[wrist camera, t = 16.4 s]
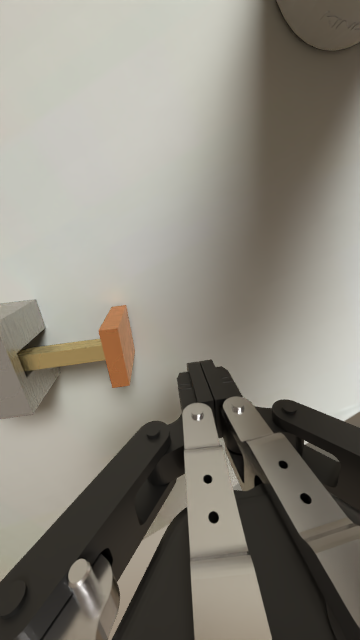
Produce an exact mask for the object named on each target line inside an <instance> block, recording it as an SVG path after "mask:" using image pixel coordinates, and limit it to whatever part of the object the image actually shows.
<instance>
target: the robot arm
mask: <svg viewBox="0 0 360 640" xmlns="http://www.w3.org/2000/svg"><path fill="white" fill-rule="evenodd" d="M276 1H277V3H278V5H279V7H280V10H281V12H282V14H283V16H284V19H285V20H286V22H287V23H288V24H289V26H290V27H291V29H292V30H293V31H294V33H295V34H296V35H297V36H299V37H300V38H301V39H302V40H303V41H305V42H306V43H307V44H309V45H311V46H314V47H316V48H318V49H322V50H332V51H335V50H340V49H345V48H349V47H351V46H353V45H355V44H357V43H359V42H360V0H276ZM187 371H188V372H183V373H179V376H178V378H177V382H178V390H179V397H180V404H181V410H182V414H181V416H180V417H179V419H178V420H176V421H175V422H173V423H171V424H169V425H166V424H165V423H164V422H161V421H152V422H149V423H147V424H145V425H144V426H142V427H141V428H140V429H139V431H138V432H137V433H136V434H135V435H134V436H133V437H132V438H131V439H130V440H129V442H128V443H127V444H126V445H125V446H124V447H123V448H122V449H121V450H120V451H119V453H118V454H117V455H116V456H115V457H114V458H113V459H112V460H111V461H110V462H109V463H108V465H107V466H106V467H105V468H104V469H103V470H102V471H101V472H100V473H99V474H98V476H97V477H96V478H95V479H94V480H93V481H92V482H91V483H90V484H89V485H88V487H87V488H86V489H85V490H84V491H83V492H82V493H81V494H80V495H79V496H78V497H77V499H76V500H75V501H74V502H73V503H72V504H71V505H70V506H69V507H68V508H67V510H66V511H65V512H64V513H63V514H62V515H61V516H60V517H59V518H58V519H57V521H56V522H55V523H54V524H53V525H52V526H51V527H50V528H49V529H48V530H47V531H46V533H45V534H44V535H43V536H42V537H41V538H40V539H39V540H38V541H37V542H36V544H35V545H34V546H33V547H32V548H31V549H30V550H29V551H28V552H27V553H26V555H25V556H24V557H23V558H22V559H21V560H20V561H19V562H18V563H17V564H16V565H15V567H14V568H13V569H12V570H11V571H10V572H9V573H8V574H7V575H6V576H5V578H4V579H3V580H2V581H1V582H0V640H108V637H109V634H110V631H111V629H112V626H113V624H114V622H115V619H116V616H117V613H118V609H119V603H120V592H119V587H118V584H117V581H118V580H119V578H120V576H121V575H122V573H123V571H124V570H125V568H126V566H127V565H128V563H129V561H130V559H131V558H132V556H133V554H134V553H135V551H136V549H137V548H138V546H139V544H140V543H141V541H142V539H143V538H144V536H145V534H146V532H147V531H148V529H149V527H150V526H151V524H152V522H153V521H154V519H155V517H156V516H157V514H158V512H159V510H160V509H161V507H162V505H163V504H164V502H165V500H166V499H167V497H168V495H169V494H170V492H171V490H172V489H173V487H174V485H175V483H176V479H177V478H178V477H180V476H181V475H183V474H185V477H186V493H187V507H186V508H185V509H184V510H182V511H181V512H180V513H179V514H178V515H177V516H176V517H175V518H174V519H173V521H172V522H171V523H170V525H169V526H168V528H167V530H166V531H165V534H164V536H163V537H162V539H161V541H160V544H159V546H158V547H157V550H156V551H155V553H154V555H153V557H152V560H151V562H150V564H149V566H148V568H147V570H146V572H145V574H144V576H143V578H142V580H141V582H140V584H139V586H138V588H137V590H136V592H135V594H134V596H133V598H132V600H131V602H130V604H129V606H128V608H127V610H126V612H125V614H124V616H123V618H122V620H121V622H120V624H119V626H118V628H117V630H116V632H115V634H114V636H113V638H112V640H360V428H358V427H356V426H353V425H351V424H349V423H346V422H344V421H341V420H339V419H336V418H334V417H331V416H329V415H326V414H324V413H322V412H319V411H317V410H314V409H312V408H309V407H307V406H304V405H302V404H299V403H297V402H294V401H291V400H279V401H276V402H275V403H274V404H273V406H272V408H261V407H256V406H254V405H253V404H252V403H251V402H250V401H249V400H248V399H246V398H243V396H242V395H241V393H240V391H239V389H238V388H237V386H236V384H235V382H234V381H233V379H232V377H231V375H230V374H229V372H228V370H226V369H225V368H223V367H222V366H221V367H215V365H214V363H213V361H212V360H205V361H200V362H193V363H187ZM222 437H223V438H224V441H225V451H226V454H227V456H228V458H229V461H230V463H231V465H232V468H233V470H234V472H235V475H236V477H237V479H238V482H239V484H240V486H241V489H242V491H237V490H233V487H232V483H231V479H230V475H229V471H228V467H227V463H226V459H225V455H224V451H223V447H222V445H220V443H219V439H218V438H222ZM304 440H305V441H307V442H309V443H311V444H313V445H315V446H317V447H319V448H321V449H323V450H325V451H327V452H329V453H331V454H333V455H334V456H335V457H336V458H337V459H338V460H339V461H340V462H337V461H335V460H333V459H331V458H329V457H327V456H325V455H323V454H321V453H319V452H317V451H315V450H314V449H312V448H310V447H308V446H306V445H304Z"/></svg>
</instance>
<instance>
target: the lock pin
mask: <svg viewBox="0 0 360 640" xmlns="http://www.w3.org/2000/svg"><path fill="white" fill-rule="evenodd" d="M99 335H100V339H95V340H87V341H79V342H72V343H64V344H56V345H49V346H41V347H34V348H26V349H21V350H20V351H19V352H18V353H17V355H18V357H19V360H20V362H21V365H22V367H23V370H24V371H30V370H37V369H45V368H52V367H59V366H67V365H74V364H81V363H88V362H96V361H103V360H106V364H107V368H108V372H109V376H110V380H111V384H112V388H116V387H123V386H129V385H130V380H131V374H132V367H133V361H134V354H135V349H134V344H133V338H132V333H131V328H130V323H129V317H128V312H127V307H126V305H123V306H115V307H111V309H110V311H109V313H108V315H107V316H106V318H105V320H104V322H103V324H102V325H101V327H100V329H99Z"/></svg>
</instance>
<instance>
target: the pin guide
mask: <svg viewBox="0 0 360 640" xmlns="http://www.w3.org/2000/svg"><path fill="white" fill-rule="evenodd" d="M43 329H45V325H44V322H43V319H42V316H41V313H40V310H39V307H38V304H37V301H36V300H27V301H18V302H10V303H1V304H0V419H5V418H11V417H18V416H25V415H31V414H34V412H35V410H36V409H37V407H38V406H39V404H40V403H41V401H42V400H43V398H44V397H45V395H46V394H47V392H48V391H49V389H50V388H51V386H52V385H53V383H54V382H55V380H56V379H57V377H58V376H59V374H60V370H59V367H52V368H45V369H37V370H30V371H24V370H23V367H22V365H21V362H20V360H19V357H18V355H17V353H18V352H19V351H20V350H21V349H22V348H23V347H24V346H25V345H27V344H28V343H29V342H30V341H31V340H32V339H33V338H34V337H36V336H37V335H38V334H39V333H40V332H41V331H42V330H43Z"/></svg>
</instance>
